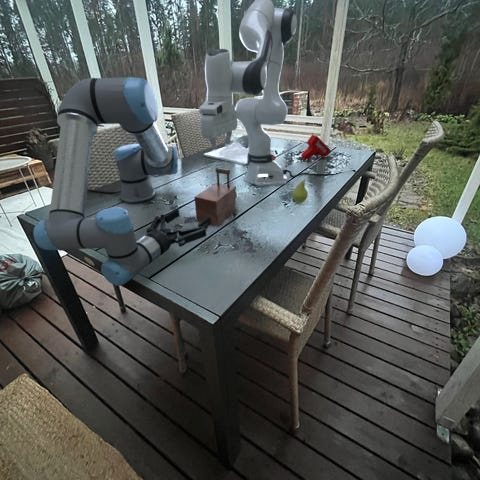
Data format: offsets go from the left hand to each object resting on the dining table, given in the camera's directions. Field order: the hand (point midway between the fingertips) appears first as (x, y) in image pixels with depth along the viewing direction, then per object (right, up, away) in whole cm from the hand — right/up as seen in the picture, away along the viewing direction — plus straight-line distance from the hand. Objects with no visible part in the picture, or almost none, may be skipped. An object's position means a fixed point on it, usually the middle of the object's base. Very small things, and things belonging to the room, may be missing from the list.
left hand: (193, 216), depth 96 cm
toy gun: (+66, +44, +81) cm, 114 cm away
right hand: (+10, +27, +6) cm, 29 cm away
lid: (+7, +10, +11) cm, 16 cm away
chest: (+7, +2, +16) cm, 17 cm away
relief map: (+14, +49, +89) cm, 103 cm away
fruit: (+43, +8, +26) cm, 51 cm away
